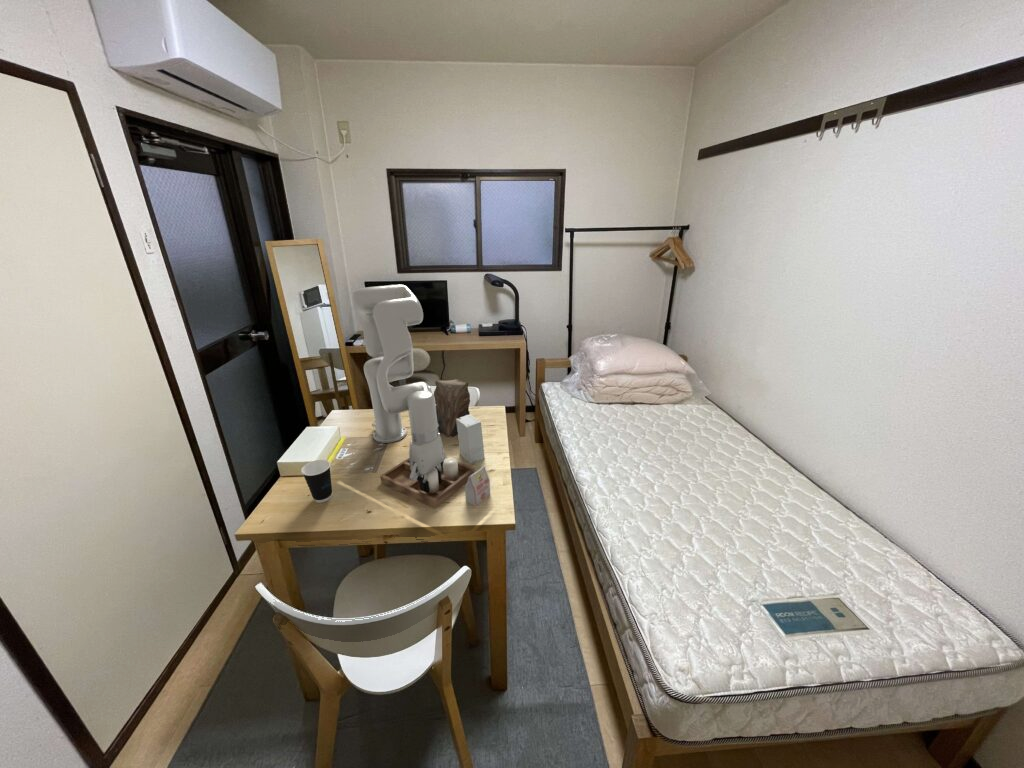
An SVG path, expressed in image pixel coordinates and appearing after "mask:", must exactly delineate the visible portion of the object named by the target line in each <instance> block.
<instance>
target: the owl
mask: <svg viewBox="0 0 1024 768" xmlns="http://www.w3.org/2000/svg"><path fill="white" fill-rule="evenodd" d="M435 385H436V386H435V389H434V391H433V395H434V397H435V404H436V414H437V423H438V424H439V427H438V432H439V433H441V434H443V435H444V436H446V437H447V438H450V437H451V438H454V437H456V436H458V431H457V423H456V419H457V418H460V417H463V416H466V415H469V414H471V413H470V410H469V407H470V403H471V400H470V399H471V394H470V393H471V392H469V382H468V381H465V382H464V381H462V380H460V379H457V378H454V379H448V380H443V379H441V380H435Z"/></svg>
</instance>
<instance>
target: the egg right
mask: <svg viewBox="0 0 1024 768" xmlns="http://www.w3.org/2000/svg"><path fill="white" fill-rule="evenodd" d="M457 461H458V459H457V458H456V457H453V456H452V457H447V458H446V459H445V460H444V463H443V471H444V478H447V479H449V480H452V481H456V480H457V479H458V478H459V474H458V462H459V461H458V462H457Z"/></svg>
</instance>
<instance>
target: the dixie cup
mask: <svg viewBox="0 0 1024 768" xmlns="http://www.w3.org/2000/svg"><path fill="white" fill-rule="evenodd" d="M331 465H332V464H331V462H330V461H329V460H327V459H315V460H313V461H310V462H307V463H305V465H303V466H302V467H301V470H300V473H301V474H302V475H303V477H304V480H305V482H306V484H307V487H308V489H309V491H310V494H311V496H312V498H313V500H314V501H315V502H316V503H324V502H326V501H329V500H331V498H332V496H333V495H332V494H333V486H332V478H331V477H332V476H331Z"/></svg>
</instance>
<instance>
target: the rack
mask: <svg viewBox="0 0 1024 768" xmlns="http://www.w3.org/2000/svg"><path fill="white" fill-rule="evenodd" d="M446 458H448V457H447V456H446ZM446 458H445V459H446ZM457 462H458V474H459V478H458V479H457V480H456V481H452V480H449V479H447V478H444V471H443V465H442V471H441V481H442V483H441V484H439V490H438V491H436V492H434V493H426V492H424V491H422V490H421V489H420V483H419V481H418V480H412V479H410V478H409V477H410V474H411V469H410V460H409V457H408V458H406V459H405V460H402V461H401V462H400V463H398V464H397V465H394V466H393V467H392V468H391V469H389V470H387V471H386V472H384V473H382V474H381V475H380V476H379V477H380V484H382V485H384V486H386V487H389V488H391V489H393V490H395V491H397V492H399V493H401V494H403V495H405V496H407V497H409V498H412V499H413V500H416V501H418V502H420V503H422V504H424V505H426V506H428V507H430V508H432V509H435V510H436V509H437V508H439V506H441V505H442V504H443V503H444V502H446V500H448V499H449V498H451V497H452V496H453V495H454V494H456V492H457V491H459V490H460V489H462V488H463V487H465V486H466V483H467V481H468V477H469V476H471V475H472V474H474V473H475V472H476V471H477V470H476V467H473V466H470V465H468V464H465V463H463V462H460V461H458V460H457ZM421 477H422V475H421Z"/></svg>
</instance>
